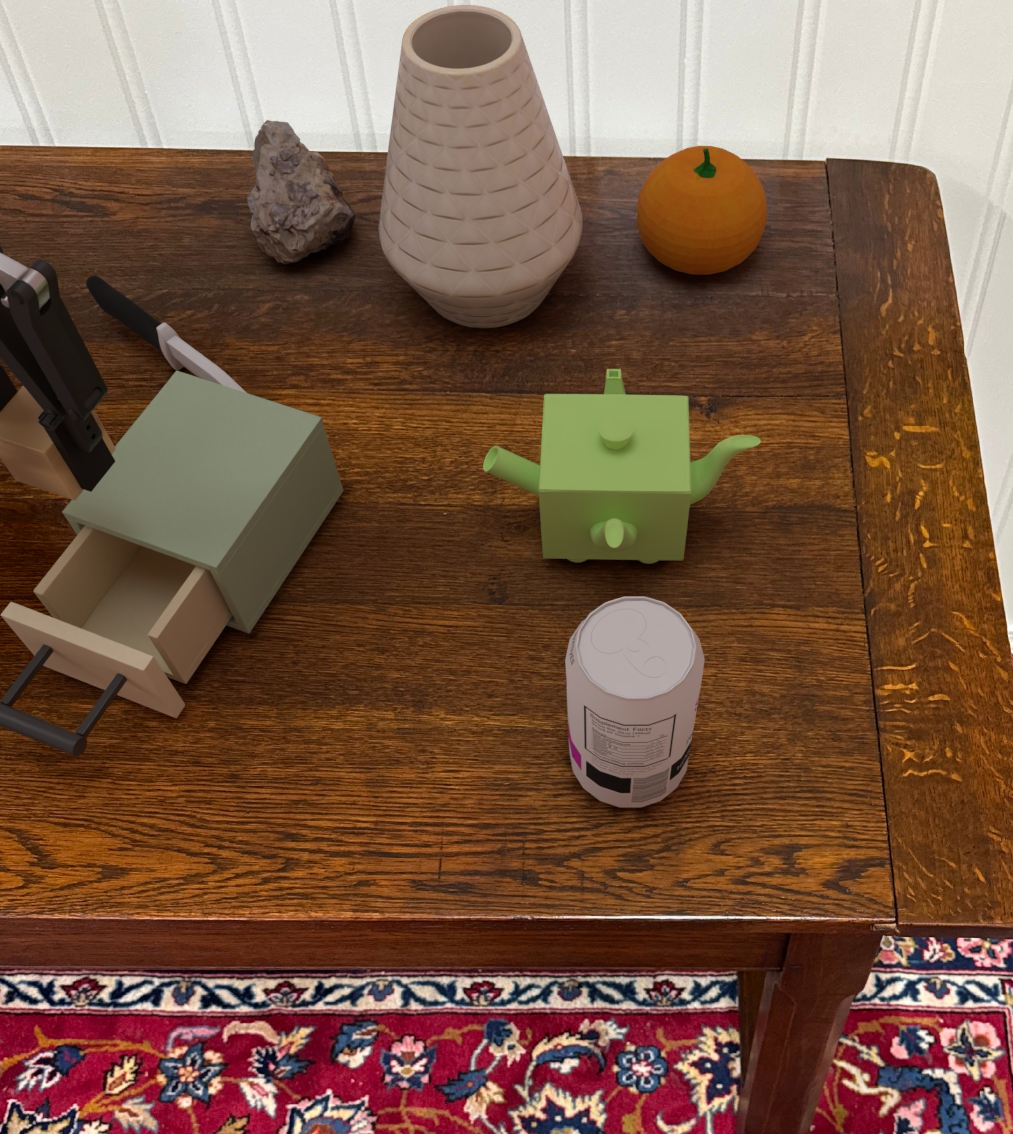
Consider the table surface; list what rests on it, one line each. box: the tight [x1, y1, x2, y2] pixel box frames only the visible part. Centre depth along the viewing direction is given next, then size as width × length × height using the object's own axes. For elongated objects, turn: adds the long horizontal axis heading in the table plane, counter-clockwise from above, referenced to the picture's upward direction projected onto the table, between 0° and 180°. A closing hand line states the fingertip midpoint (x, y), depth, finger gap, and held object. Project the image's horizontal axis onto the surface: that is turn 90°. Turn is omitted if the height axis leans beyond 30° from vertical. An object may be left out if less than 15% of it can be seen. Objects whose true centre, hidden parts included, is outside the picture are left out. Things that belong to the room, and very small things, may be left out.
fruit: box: [636, 145, 768, 276], centre depth 101 cm, size 12×12×10 cm
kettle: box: [482, 368, 762, 564], centre depth 84 cm, size 15×14×11 cm
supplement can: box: [564, 595, 706, 808], centre depth 72 cm, size 8×8×15 cm
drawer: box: [0, 526, 233, 758], centre depth 80 cm, size 20×11×7 cm, turn 157°
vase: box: [377, 4, 584, 329], centre depth 93 cm, size 17×17×23 cm
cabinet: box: [61, 370, 344, 634], centre depth 85 cm, size 15×13×9 cm
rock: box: [246, 119, 357, 265], centre depth 103 cm, size 9×12×10 cm
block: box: [0, 385, 116, 501], centre depth 71 cm, size 5×5×5 cm
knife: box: [85, 275, 247, 393], centre depth 95 cm, size 25×2×5 cm, turn 50°
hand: (63, 462), depth 73 cm, fingers closed on block, 5 cm apart
